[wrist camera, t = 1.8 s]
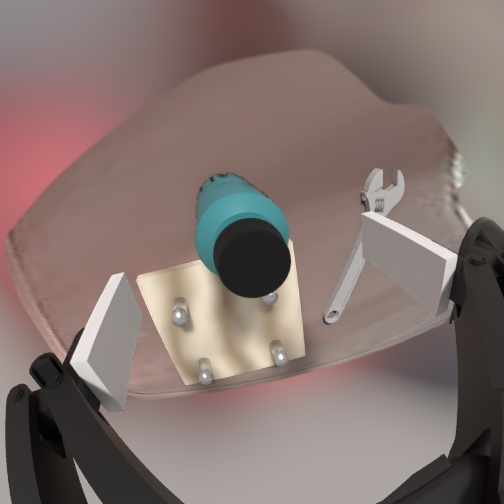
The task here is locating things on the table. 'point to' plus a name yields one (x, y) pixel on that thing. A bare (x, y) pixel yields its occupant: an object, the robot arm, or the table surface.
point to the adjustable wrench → (374, 202)
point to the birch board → (222, 321)
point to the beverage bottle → (242, 236)
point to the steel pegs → (204, 363)
